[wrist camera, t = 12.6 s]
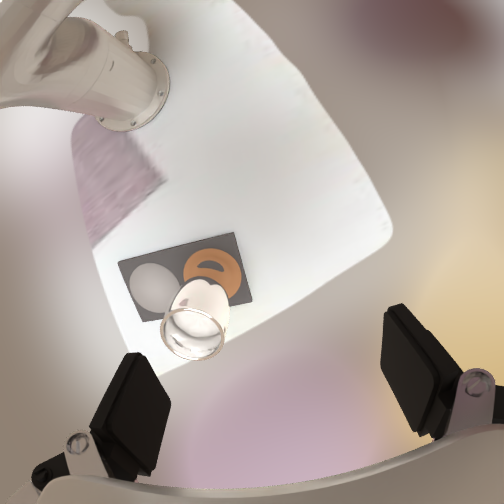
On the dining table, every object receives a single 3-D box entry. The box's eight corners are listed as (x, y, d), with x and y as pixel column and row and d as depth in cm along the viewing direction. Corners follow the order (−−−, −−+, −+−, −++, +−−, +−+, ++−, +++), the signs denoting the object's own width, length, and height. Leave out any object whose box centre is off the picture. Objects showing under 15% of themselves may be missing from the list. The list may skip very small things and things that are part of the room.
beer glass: (189, 296, 41) (164, 360, 27) (185, 252, 39) (152, 305, 25) (235, 296, 41) (228, 363, 27) (234, 252, 39) (224, 307, 25)
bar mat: (118, 261, 40) (117, 263, 40) (233, 232, 39) (233, 233, 38) (143, 320, 44) (142, 322, 43) (252, 300, 42) (252, 302, 42)
